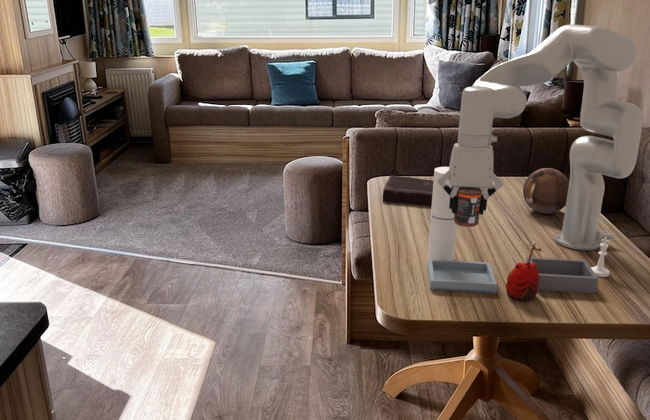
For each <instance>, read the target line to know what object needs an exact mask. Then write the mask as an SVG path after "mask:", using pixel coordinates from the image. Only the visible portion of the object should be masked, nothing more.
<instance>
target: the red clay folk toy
mask: <svg viewBox="0 0 650 420" xmlns="http://www.w3.org/2000/svg"><path fill="white" fill-rule="evenodd" d="M536 245H537V243H534V244H533V246H532V244H531V243H529V246H530V247H531V250H530V254H529V255H528V257H529V260H528V261H527V263H526V262H517V263H516V264H515V265H514V268H512V269H511V271H510V272H509V273H508V275H507V276H506V277H507V278H506V283H505V289H506V290H505V291H506V294H508V296H510V297H511V298H512V299H515V300H518V301H528V302H529V301H530V300H532V299H534V298H535V297H536V296H537V294H538V292H539V290H538V286H539V280H540V277H539V274H540V273H538V270H537V265H536V264H535V263H530V259H531V257H532V255H533V252H534V250H535V251H537V252H540V253H541V252H542V250H543V249H542V247H540V248H537V247H536Z"/></svg>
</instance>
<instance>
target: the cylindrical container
mask: <svg viewBox="0 0 650 420" xmlns="http://www.w3.org/2000/svg"><path fill="white" fill-rule="evenodd" d="M448 170H449V166H439V167H435V168H434V173H433V180H434V182H433V195H432V206H431V209H430V222H429V235H428V248H427V249H428V250H427V260H428V259H435V260H452V261H455V251H456V242H457V240H456V239H457V230H458V225H457V224H456V223H455V222H454V214H455V213H452V210H451V209H449V202H450V196H449V194H448V193H447V192H446V191H445V190H444V189H443V188H442V187H441V186H440V185H439V184H438V179H439V178H440V177H441V176H443V175H444V174H445V173H446V172H447V171H448ZM445 183H446V184H447V185H448V186H449V187H450V188H451V187H452V185H451V184H450V180H449V179H447V180H446V181H445Z"/></svg>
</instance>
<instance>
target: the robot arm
mask: <svg viewBox="0 0 650 420" xmlns="http://www.w3.org/2000/svg"><path fill="white" fill-rule="evenodd" d="M637 55H638V50H637V45H636V43H635V41H634V39H632V38H631V37H629V36H627V35H624V34H621V33H619V32H616V31H614V30H611V29H609V28H606V27H602V26H597V25H587V24H585V25H583V24H565V25H562V26H560V27H558V28H557V29H556V30H555V31H553V32H552V33H551V34H550V35H548V36H547V37H546V38H545V39H544V40H543V41H542V42H540V43H539V44H538V45H537V46H536V47H535V48H533V49H531V51H530V52H528V53H527V54H524V55H521V56H518V57H515V58H513V59H510V60H507V61H505V62H502V63H499V64H498V65H496V66H494V67H492V68H491V69H488V71H486V72H484V74H483V75H481V76H480V77H479V78H478V79H476V80H475V82H474V83H473V84H472V86H468V87H465V88H464V89H463V91H462V93H461V102H460V112H459V113H460V114H459V124H458V133H457V134H458V135H457V142H456V143H454V144H453V147H452V150H451V155H450V161H449V166H448V167H449V170H448V171H447V172H446V173H445V174H444V175H443V176H441V177H440V178H439V179H438V184H439V185H440V186H441V187H442V188H443V189H444V190H445V191H446V192H447V193H448V194H449V196H450V202H449V209H451V210H452V213H455V212H456V201H457V198H456V193H457V191H458V189H459V187H474V188H480V189H481V191H482V194H481V204H480V213H479V215H481V216H483V215H484V212H486V211H487V203H488V200H489V198H490V197H491V196H493V195H494V194H495V193H496V192H497V191H498V190H499V189H501V188H502V187H503V185H504V184H503V182H502V181H501V180H500V179H499V177H498V176H497V175H496V174H495V172H494V149H493V145H492V143H497V142H498V136H497V135H494V134H492V130H493V124H494V123H493V121H494V119H495V118H498V119H500V118H501V119H511V118H515V117H517V116H519V115H520V114H522V113H523V112H524V110H525V108H526V106H527V101H528V100H527V95H526V94H525V92H524V90H522V89H521V88H522V87H529V86H530V87H531V86H536V85H540V84H541V85H542V84H544V83H545V84H546V83H547V82H550V81H551V80H553V79H554V78H555V77H556V76H557V75H558V74H560V72H562V71H563V70H564V69H565V68H566V67H567V66H569V65H570V64H571V63H572V62H573V63H574V64H575V65H576V66H577V68H579V70H580V73H581V74H582V77H583V93H582V101H581V107H580V108H581V109H580V115H579V116H580V121H579V122H580V126H581V127H582V129H583V130H585V131H587V132H590V133H593V134H598V135H602V136H608V137H610V138H611V137H612V138H613V140H611V139H607V138H603V137H598V136H594V135H584V136H580V137H577V138H576V139H575V140H574V141H573V142H572V144H571V147H570V150H569V164H570V165H569V166H570V167H569V169H570V171H569V172H570V173H569V188H568V194H567V201H566V206H565V207H564V208H565V209H564V215H563V222H562V227H561V229H562V230H561V231H560V232H558V233H556V234H555V238H554V240H555V241H556V243H557V244H559V245H561V246H563V247H565V248H568V249H572V250H577V251H594V250H597V249H599V248H601V247H600V244H601V243H602V241H601V240H602V239H604V238H605V237H606V240H609V241H614V239H615V234H614V233H610V232H607V230H600V229H599V222H600V217H601V213H602V211H601V210H602V206H603V199H604V195H605V194H604V193H605V180H604V176H607V177H611V178H615V179H625V178H628V177H629V176H630V175H631V174H632V172H633V171H634V169H635V166H636V164H637V163H636V162H637V159H638V154H639V150H640V149H639V147H640V143H641V136H642V129H643V119H644V118H643V113H642V110H641V109H640V107H639V106H637V104H634V103H632V102H627V101H622V100H621V101H620V100H618V89H619V77H618V72H624V71H626V70H628V69H630V68H631V67H632V66H633V65H634V63H635V62H636V58H637ZM520 87H521V88H520ZM603 175H604V176H603ZM447 179H449V180H450V184H451V185H452V187H451V188H450V187H449V186H448V185H447V184H446V183H445V181H446V180H447ZM493 183H494V184H493Z"/></svg>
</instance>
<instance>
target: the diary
mask: <svg viewBox="0 0 650 420" xmlns="http://www.w3.org/2000/svg"><path fill="white" fill-rule="evenodd" d="M433 182H434V179H433V180H432V179H425V178H424V179H423V178H418V177H411V176H399V175H390V176H389V178H388V179H387V182H386V184H385V185H384V187H383V190H382V202H387V203H395V204H396V203H399V204H410V205H419V206H420V205H421V206H430V207H432V195H433Z"/></svg>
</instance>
